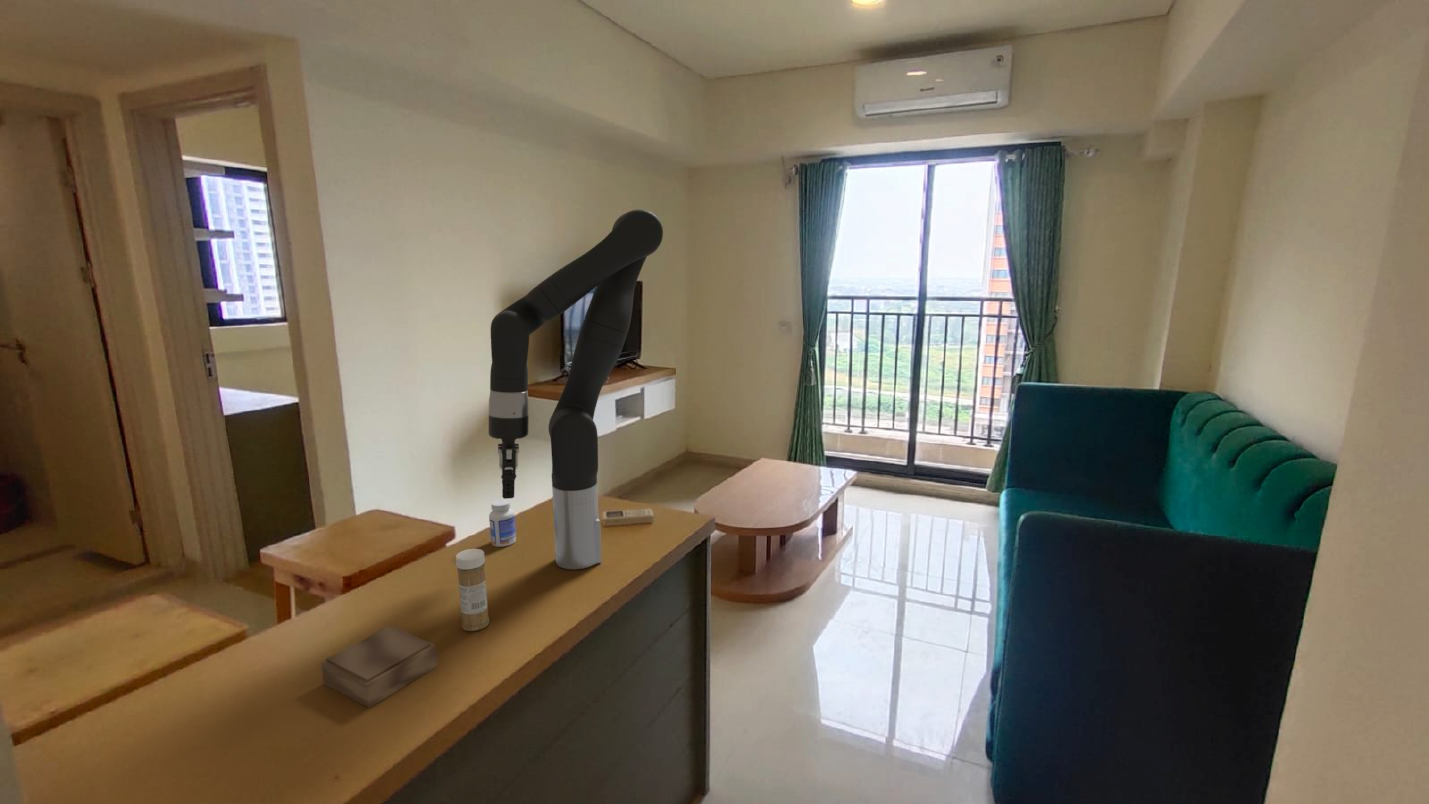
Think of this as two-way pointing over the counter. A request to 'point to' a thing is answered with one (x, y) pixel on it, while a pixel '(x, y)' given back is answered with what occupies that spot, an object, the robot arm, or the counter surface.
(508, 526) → the pill bottle
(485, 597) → the sprinkles bottle
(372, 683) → the walnut plinth
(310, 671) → the counter surface
